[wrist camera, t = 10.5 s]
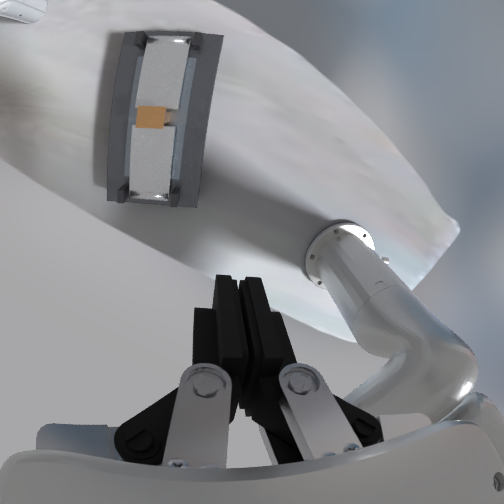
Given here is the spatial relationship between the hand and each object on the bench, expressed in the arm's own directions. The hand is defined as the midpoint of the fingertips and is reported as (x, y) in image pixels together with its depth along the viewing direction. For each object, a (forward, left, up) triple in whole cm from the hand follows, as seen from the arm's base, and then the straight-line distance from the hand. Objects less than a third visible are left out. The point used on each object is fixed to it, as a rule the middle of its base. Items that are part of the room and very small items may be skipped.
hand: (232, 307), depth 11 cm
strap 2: (+8, 0, -24) cm, 26 cm away
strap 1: (+8, -12, -25) cm, 28 cm away
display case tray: (+8, -6, -29) cm, 31 cm away
